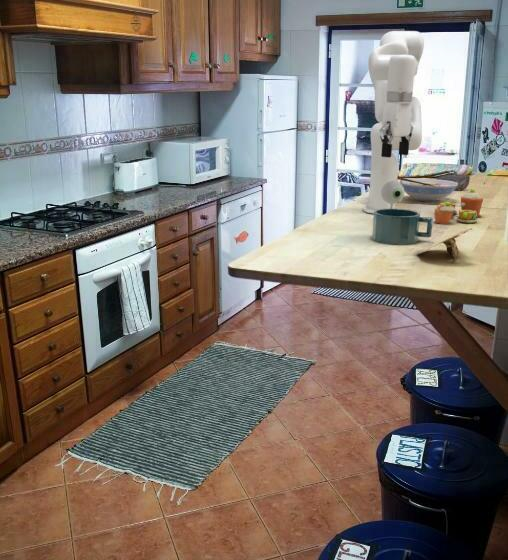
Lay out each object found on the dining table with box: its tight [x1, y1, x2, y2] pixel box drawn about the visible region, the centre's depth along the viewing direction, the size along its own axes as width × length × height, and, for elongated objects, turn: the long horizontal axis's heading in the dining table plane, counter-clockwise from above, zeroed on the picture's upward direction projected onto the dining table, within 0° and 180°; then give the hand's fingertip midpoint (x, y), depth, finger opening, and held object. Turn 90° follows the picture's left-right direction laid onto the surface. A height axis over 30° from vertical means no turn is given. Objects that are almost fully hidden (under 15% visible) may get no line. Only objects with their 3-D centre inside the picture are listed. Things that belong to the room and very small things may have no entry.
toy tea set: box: [434, 188, 484, 225], centre depth 218 cm, size 26×16×10 cm, turn 158°
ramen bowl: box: [397, 176, 458, 203], centre depth 255 cm, size 25×23×8 cm
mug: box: [371, 208, 434, 246], centre depth 185 cm, size 17×13×8 cm
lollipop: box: [381, 181, 405, 209], centre depth 200 cm, size 7×7×15 cm
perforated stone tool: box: [436, 174, 471, 191], centre depth 286 cm, size 15×5×7 cm, turn 70°
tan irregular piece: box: [420, 227, 473, 263], centre depth 165 cm, size 18×14×8 cm
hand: (394, 155), depth 196 cm, fingers open, 9 cm apart
